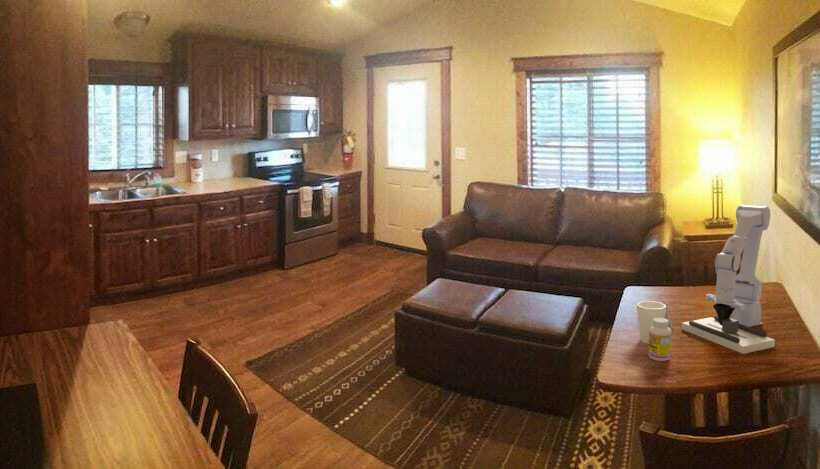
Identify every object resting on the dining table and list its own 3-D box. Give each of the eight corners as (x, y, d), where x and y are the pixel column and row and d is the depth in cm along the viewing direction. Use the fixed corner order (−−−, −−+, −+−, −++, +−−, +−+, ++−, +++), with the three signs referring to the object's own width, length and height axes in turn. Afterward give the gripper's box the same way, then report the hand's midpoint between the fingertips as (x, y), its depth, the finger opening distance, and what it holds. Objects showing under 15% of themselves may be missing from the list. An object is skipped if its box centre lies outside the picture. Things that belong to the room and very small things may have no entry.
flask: (675, 333, 214) (676, 306, 212) (654, 332, 215) (655, 306, 214) (670, 326, 221) (671, 300, 219) (650, 325, 222) (651, 300, 221)
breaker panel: (710, 323, 222) (711, 316, 222) (774, 346, 198) (775, 339, 198) (681, 329, 217) (681, 322, 217) (743, 353, 193) (743, 346, 193)
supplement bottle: (644, 354, 196) (645, 317, 194) (663, 353, 197) (665, 315, 194) (654, 362, 189) (655, 323, 187) (674, 361, 190) (676, 322, 188)
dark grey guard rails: (717, 319, 219) (717, 315, 219) (766, 336, 200) (766, 332, 200) (688, 325, 214) (688, 320, 214) (736, 343, 196) (736, 338, 196)
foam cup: (666, 346, 202) (668, 309, 200) (637, 345, 204) (639, 308, 202) (661, 336, 211) (663, 301, 209) (634, 335, 213) (635, 300, 211)
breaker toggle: (730, 329, 208) (731, 318, 207) (737, 331, 205) (738, 320, 204) (721, 330, 207) (722, 319, 206) (729, 333, 204) (729, 322, 203)
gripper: (700, 283, 211) (698, 320, 214) (734, 294, 198) (732, 332, 200) (715, 281, 213) (713, 317, 216) (750, 291, 200) (747, 329, 203)
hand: (723, 324), depth 208 cm, fingers closed
